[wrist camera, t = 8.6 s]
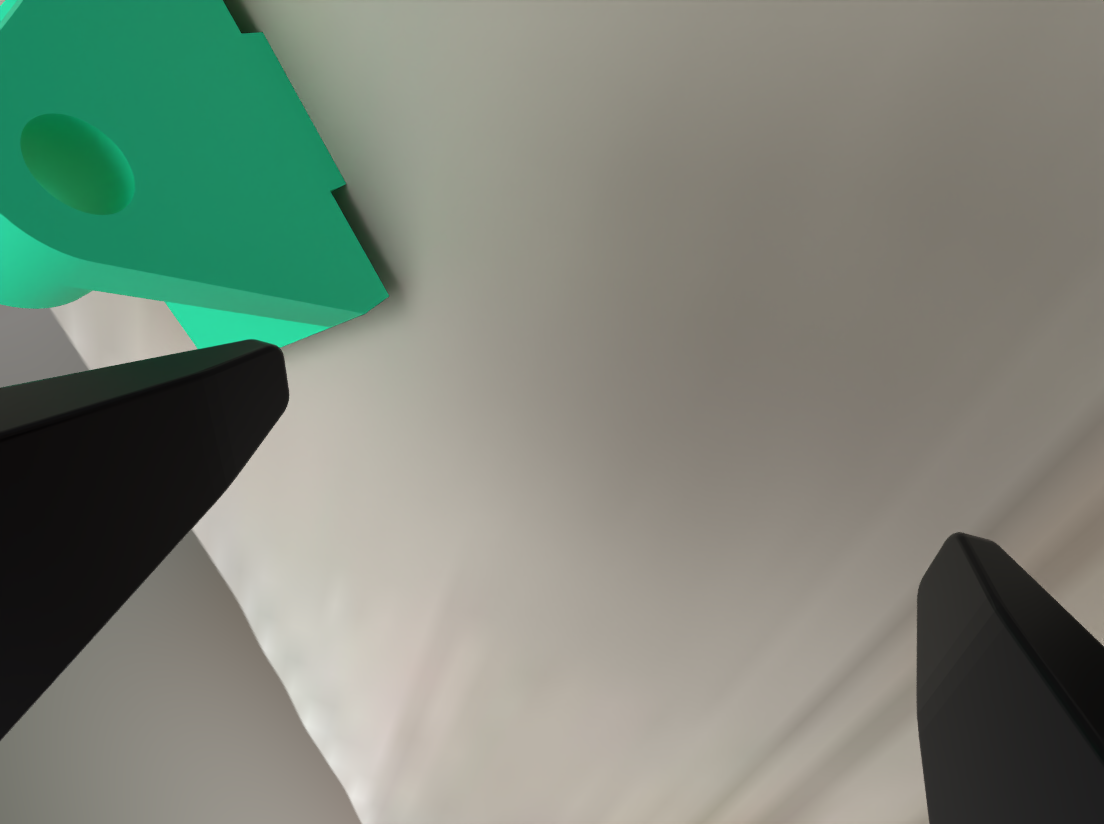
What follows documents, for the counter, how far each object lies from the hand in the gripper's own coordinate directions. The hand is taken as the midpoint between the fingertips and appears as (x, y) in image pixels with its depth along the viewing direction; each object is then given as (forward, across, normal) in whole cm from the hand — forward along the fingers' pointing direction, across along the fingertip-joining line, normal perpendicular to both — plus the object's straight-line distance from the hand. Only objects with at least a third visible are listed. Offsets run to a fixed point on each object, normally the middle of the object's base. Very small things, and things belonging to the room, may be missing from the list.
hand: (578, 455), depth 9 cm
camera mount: (+12, +16, +1) cm, 20 cm away
